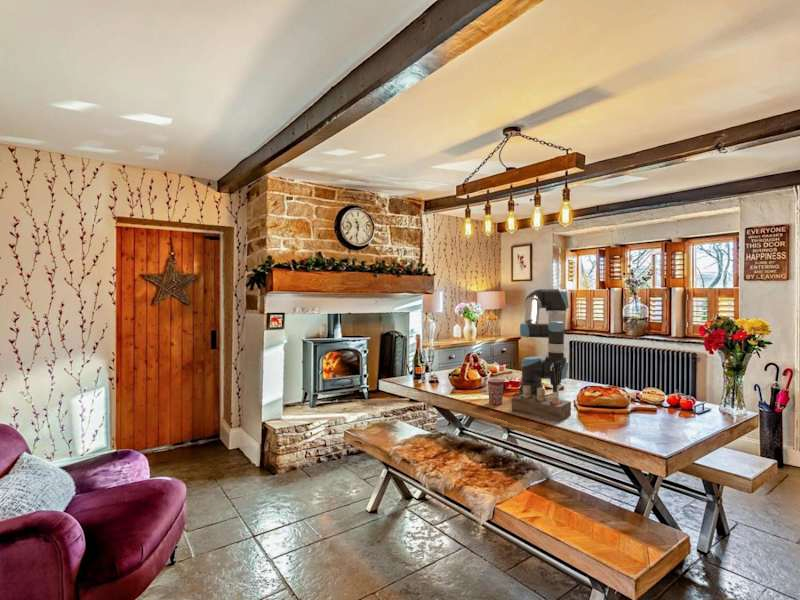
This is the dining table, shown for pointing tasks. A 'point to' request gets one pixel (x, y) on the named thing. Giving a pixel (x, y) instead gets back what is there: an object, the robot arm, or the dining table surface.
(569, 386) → the dining table surface
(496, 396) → the mug
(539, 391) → the plug mid
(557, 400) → the plug
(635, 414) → the dining table surface
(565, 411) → the socket board
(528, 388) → the plug
